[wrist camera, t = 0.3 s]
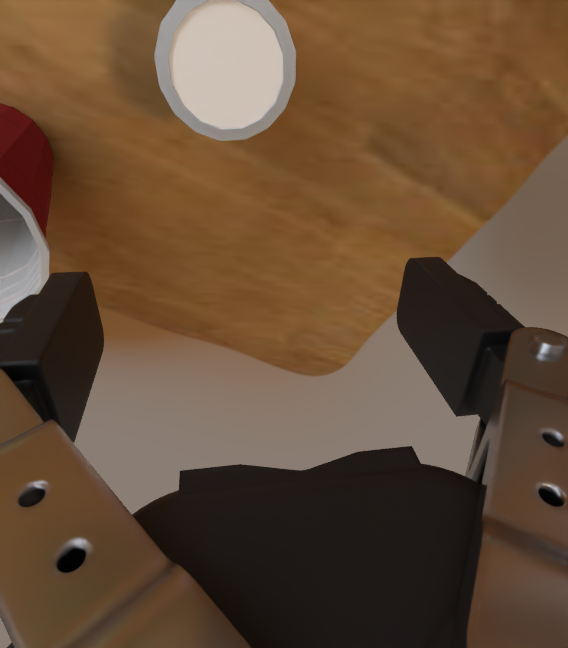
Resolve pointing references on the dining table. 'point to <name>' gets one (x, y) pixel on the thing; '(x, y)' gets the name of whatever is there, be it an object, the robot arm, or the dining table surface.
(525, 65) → the dining table surface
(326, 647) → the robot arm
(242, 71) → the white faceted cylinder
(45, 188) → the plastic cup
